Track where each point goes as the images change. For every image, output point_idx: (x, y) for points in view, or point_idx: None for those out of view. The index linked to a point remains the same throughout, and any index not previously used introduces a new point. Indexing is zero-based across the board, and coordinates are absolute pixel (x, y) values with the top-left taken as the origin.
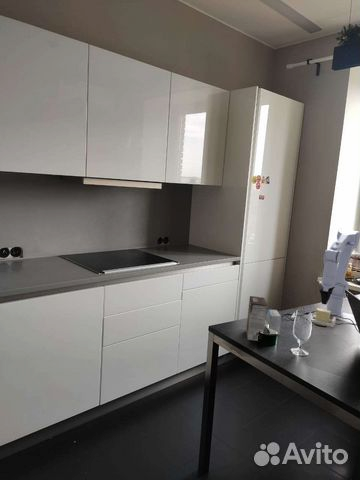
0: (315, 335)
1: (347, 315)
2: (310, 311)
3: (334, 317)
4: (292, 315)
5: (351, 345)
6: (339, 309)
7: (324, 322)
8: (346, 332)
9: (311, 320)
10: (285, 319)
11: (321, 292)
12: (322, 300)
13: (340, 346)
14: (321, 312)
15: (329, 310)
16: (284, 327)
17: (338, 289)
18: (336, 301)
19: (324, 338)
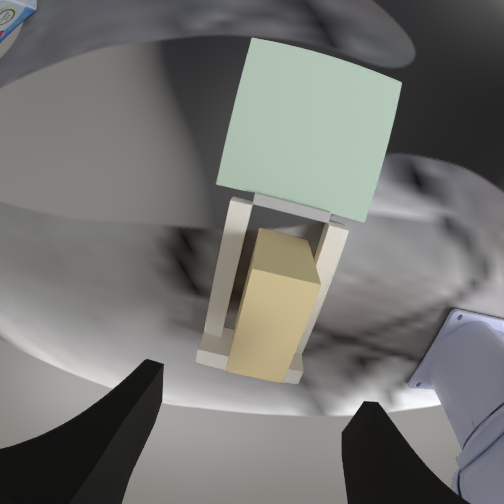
0: (33, 216)
1: (429, 404)
2: (460, 216)
3: None
4: (299, 51)
5: (47, 353)
6: (439, 398)
7: (214, 294)
8: (170, 379)
9: (231, 199)
10: (187, 10)
11: (4, 461)
12: (121, 393)
13: (13, 310)
14: (242, 304)
15: (454, 343)
16: (54, 42)
17: (496, 489)
18: (461, 420)
19: (30, 258)
